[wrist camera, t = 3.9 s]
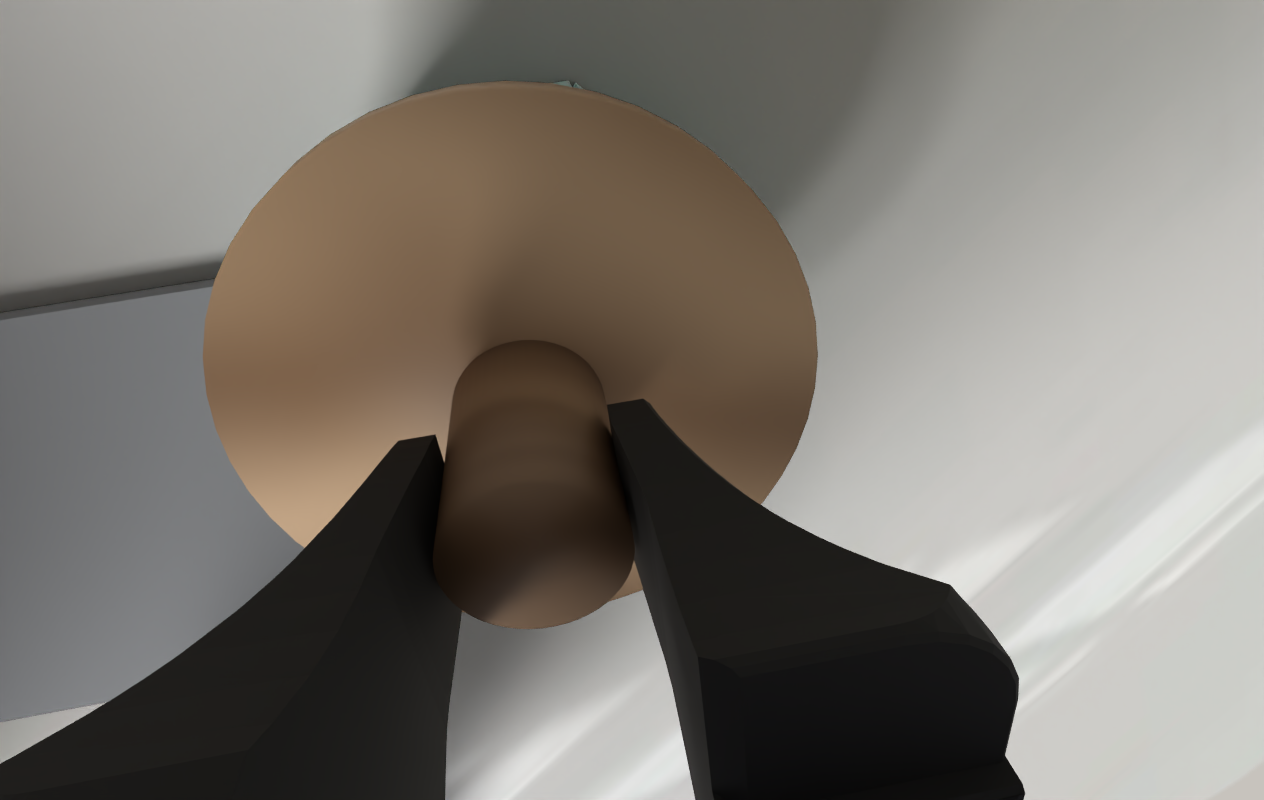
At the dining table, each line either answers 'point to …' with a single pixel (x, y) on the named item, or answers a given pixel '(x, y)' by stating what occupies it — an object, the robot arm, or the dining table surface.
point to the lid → (507, 330)
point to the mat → (115, 499)
